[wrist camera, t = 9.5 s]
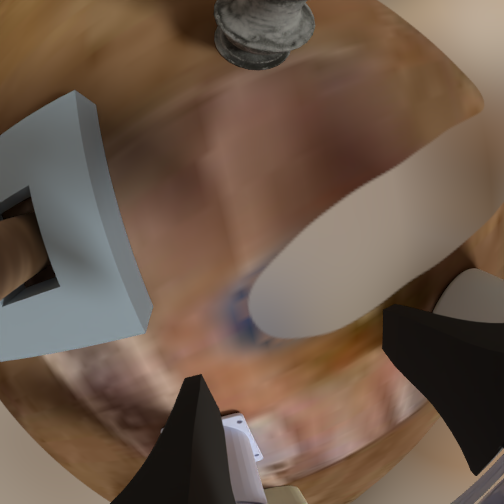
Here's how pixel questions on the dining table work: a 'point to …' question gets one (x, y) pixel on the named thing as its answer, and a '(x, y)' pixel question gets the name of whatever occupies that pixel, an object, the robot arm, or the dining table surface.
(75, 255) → the socket block
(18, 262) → the walnut peg
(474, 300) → the cylinder vase
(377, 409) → the dining table surface
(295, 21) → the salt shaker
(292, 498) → the reusable coffee cup
